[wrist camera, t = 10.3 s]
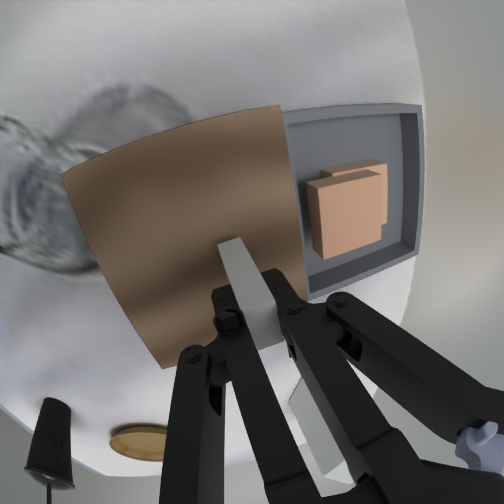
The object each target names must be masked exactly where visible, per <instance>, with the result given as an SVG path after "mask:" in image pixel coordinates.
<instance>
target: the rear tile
mask: <svg viewBox="0 0 504 504" xmlns="http://www.w3.org/2000/svg"><path fill="white" fill-rule="evenodd" d="M364 169H368V170H371V171H374V172H377V173H379V174H382V224H386V223H387V199H388V180H387V163H384V162H381V161H378V160H374V159H373V160H367V161H361V162H355V163H350V164H344V165H339V166H334V167H329V168H324V169H321V177H322V178H326V177H331V176H335V175H340V174H345V173H349V172H354V171H359V170H364Z"/></svg>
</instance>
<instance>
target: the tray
mask: <svg viewBox="0 0 504 504" xmlns="http://www.w3.org/2000/svg"><path fill="white" fill-rule="evenodd" d="M282 118H283V123H284V129H285V134H286V140H287V146H288V151H289V157H290V163H291V169H292V176H293V182H294V189H295V195H296V202H297V209H298V216H299V224H300V232H301V240H302V248H303V256H304V265H305V274H306V284H307V294H308V301H309V300H312V299H315V298H317V297H320V296H322V295H325V294H328V293H330V292H333V291H335V290H338V289H340V288H343V287H345V286H348V285H350V284H352V283H355V282H357V281H360V280H362V279H364V278H367V277H369V276H371V275H374V274H376V273H378V272H380V271H383V270H385V269H387V268H389V267H392V266H394V265H396V264H398V263H401V262H403V261H405V260H407V259H409V258H411V257H413V256H416V255H418V251H419V244H420V236H421V226H422V215H423V201H424V171H425V161H424V131H423V117H422V106H421V105H414V104H401V103H387V104H357V105H341V106H330V107H320V108H311V109H303V110H295V111H288V112H282ZM373 159H374V160H378V161H381V162H384V163H387V180H388V199H387V223H386V224H382V226H381V240H379V241H376V242H373V243H370V244H368V245H365V246H362V247H359V248H356V249H354V250H351V251H348V252H345V253H342V254H340V255H337V256H334V257H331V258H328V259H325V260H323V259H322V258H321V257H320V256H319V255H318V254H317V253H316V252H315V251H314V250H313V246H312V235H311V225H310V215H309V206H308V198H307V189H306V182H309V181H313V180H317V179H322V177H321V169H324V168H329V167H334V166H339V165H344V164H350V163H355V162H361V161H367V160H373Z"/></svg>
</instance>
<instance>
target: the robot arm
mask: <svg viewBox="0 0 504 504" xmlns="http://www.w3.org/2000/svg"><path fill="white" fill-rule="evenodd" d="M217 246H218V249H219V252H220V255H221V258H222V261H223V264H224V267H225V270H226V273H227V276H228V279H229V282H230V284H228V285H225V286H222V287H219V288H216V289H213V291H212V294H211V299H212V303H213V307H214V311H215V316H214V318H213V324H214V326H215V328H216V330H217V332H218V335H217V337H216V338H215V339H214V340H213V341H212V342H211V343H209V344H208V345H206V346H202V345H197V344H194V345H191V346H188V347H186V348H185V349H184V350H183V351H182V352H181V353H180V356H179V359H178V365H177V370H176V376H175V382H174V388H173V394H172V400H171V406H170V413H169V420H168V427H167V434H166V441H165V449H164V457H163V466H162V475H161V486H160V496H159V504H224V438H225V394H226V383H228V382H229V381H231V382H232V385H233V388H234V392H235V395H236V399H237V402H238V405H239V409H240V412H241V415H242V418H243V422H244V425H245V428H246V431H247V434H248V437H249V440H250V443H251V446H252V449H253V452H254V455H255V458H256V461H257V464H258V467H259V470H260V472H261V475H262V478H263V481H264V489H265V493H266V496H267V499H268V502H269V504H504V477H503V476H502V475H501V472H502V469H503V466H504V391H500V390H497V389H493V388H489V387H485V386H483V385H482V384H481V383H479V382H478V381H477V380H475V379H474V378H472V377H471V376H470V375H468V374H467V373H465V372H464V371H462V370H461V369H460V368H458V367H457V366H456V365H454V364H453V363H451V362H450V361H448V360H447V359H446V358H444V357H443V356H441V355H440V354H439V353H437V352H436V351H434V350H433V349H431V348H430V347H428V346H427V345H425V344H424V343H422V342H421V341H420V340H418V339H417V338H415V337H414V336H412V335H411V334H410V333H408V332H407V331H405V330H403V329H402V328H401V327H399V326H398V325H396V324H395V323H393V322H392V321H390V320H389V319H387V318H386V317H384V316H383V315H382V314H380V313H379V312H377V311H376V310H374V309H373V308H371V307H370V306H368V305H367V304H365V303H364V302H362V301H361V300H359V299H358V298H356V297H355V296H353V295H352V294H350V293H347V292H335V293H333V294H331V295H330V296H329V297H328V298H327V300H326V302H324V303H317V304H311V303H307V302H306V301H305V300H303V299H300V298H299V296H298V295H297V293H296V292H295V290H294V289H293V287H292V286H291V285H290V283H289V282H288V280H287V279H286V278H285V276H284V274H283V273H282V271H280V270H278V269H276V268H272V269H270V270H267V271H264V272H261V273H260V272H259V270H258V268H257V267H256V265H255V263H254V261H253V259H252V258H251V256H250V254H249V252H248V250H247V249H246V247H245V245H244V243H243V241H242V240H241V238H240V237H238V238H235V239H232V240H229V241H226V242H223V243H220V244H217ZM283 336H284V337H283ZM284 338H285V340H286V342H287V347H288V352H289V356H290V358H291V357H292V358H293V360H294V362H295V364H296V366H297V368H298V370H299V372H300V374H301V376H302V378H303V380H304V382H305V384H306V386H307V388H308V390H309V391H310V393H311V395H312V397H313V399H314V401H315V403H316V405H317V407H318V409H319V411H320V413H321V415H322V417H323V419H324V421H325V423H326V425H327V426H328V428H329V430H330V432H331V434H332V436H333V438H334V440H335V442H336V444H337V446H338V448H339V450H340V451H341V453H342V455H343V457H344V459H345V461H346V463H347V466H348V470H349V473H350V475H351V477H352V479H353V481H354V483H355V485H356V486H355V487H354V488H352V489H351V490H350V491H348V492H346V493H342V494H337V495H332V496H327V497H322V498H321V496H320V493H319V492H318V490H317V487H316V485H315V483H314V481H313V479H312V477H311V474H310V472H309V471H308V469H307V467H306V464H305V462H304V460H303V458H302V456H301V453H300V451H299V449H298V447H297V444H296V442H295V440H294V437H293V435H292V433H291V431H290V428H289V426H288V424H287V421H286V419H285V417H284V414H283V412H282V410H281V407H280V405H279V402H278V400H277V398H276V395H275V393H274V390H273V388H272V386H271V383H270V381H269V378H268V376H267V373H266V371H265V368H264V366H263V364H262V361H261V359H260V356H259V354H258V350H261V349H264V348H266V347H269V346H272V345H275V344H277V343H280V342H283V341H284ZM346 359H347V360H348V361H349V362H350V363H351V364H353V365H354V366H355V367H356V368H357V369H358V370H360V371H361V372H362V373H363V374H364V375H365V376H367V377H368V378H369V379H370V380H371V381H372V382H374V383H375V384H376V385H377V386H378V387H379V388H381V389H382V390H383V391H384V392H385V393H387V394H388V395H389V396H390V397H391V398H393V399H394V400H395V401H396V402H397V403H399V404H400V405H401V406H402V407H403V408H404V409H406V410H407V411H408V412H409V413H410V414H412V415H413V416H414V417H415V418H416V419H418V420H419V421H420V422H421V423H423V424H424V425H425V426H426V427H427V428H429V429H430V430H431V431H432V432H433V433H435V434H436V435H438V436H439V437H441V438H442V439H444V440H446V441H448V442H450V443H453V444H456V450H455V455H456V456H457V457H459V458H461V459H462V460H464V461H465V462H466V463H467V464H468V467H469V469H466V468H460V467H455V466H449V465H444V464H440V463H436V462H431V461H427V460H422V459H419V457H418V456H417V454H416V453H415V451H414V450H413V448H412V447H411V445H410V443H409V442H408V440H407V439H406V438H405V436H404V435H403V433H402V432H401V431H400V430H399V429H397V428H394V427H392V426H390V424H389V423H388V422H387V420H386V419H385V417H384V416H383V414H382V413H381V411H380V409H379V408H378V406H377V405H376V404H375V402H374V400H373V399H372V397H371V396H370V394H369V393H368V391H367V390H366V388H365V387H364V385H363V384H362V382H361V381H360V379H359V378H358V376H357V375H356V373H355V372H354V370H353V369H352V367H351V366H350V364H349V363H348V361H347V360H346Z"/></svg>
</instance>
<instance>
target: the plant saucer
mask: <svg viewBox="0 0 504 504" xmlns="http://www.w3.org/2000/svg"><path fill="white" fill-rule="evenodd" d="M166 434H167V429H164V428H160V427H153V426H135V427H129V428H126V429H124V430H122V431H120V432H119V433H117V434H116V435H115V436H114V437H112V438H111V440H110V441H109V445H110V447H111V448H112V449H113V450H114V451H116V452H117V453H119V454H121V455H123V456H126V457H129V458H132V459H136V460H142V461H151V462H163V457H164V449H165V441H166Z"/></svg>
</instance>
